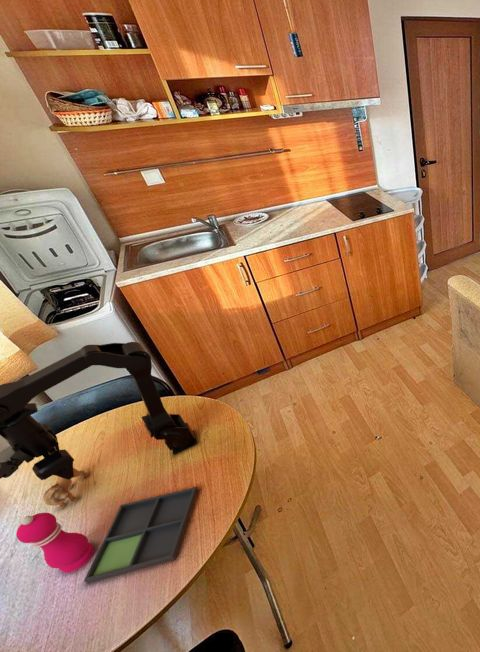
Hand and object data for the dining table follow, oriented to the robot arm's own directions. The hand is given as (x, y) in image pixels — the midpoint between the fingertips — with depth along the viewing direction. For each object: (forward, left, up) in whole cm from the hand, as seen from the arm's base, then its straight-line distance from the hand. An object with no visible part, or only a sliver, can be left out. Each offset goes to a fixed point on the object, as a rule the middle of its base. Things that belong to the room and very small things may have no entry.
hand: (64, 469), depth 98 cm
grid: (-12, +22, -14) cm, 28 cm away
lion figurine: (+5, -5, -14) cm, 15 cm away
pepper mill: (+3, +18, -14) cm, 23 cm away
